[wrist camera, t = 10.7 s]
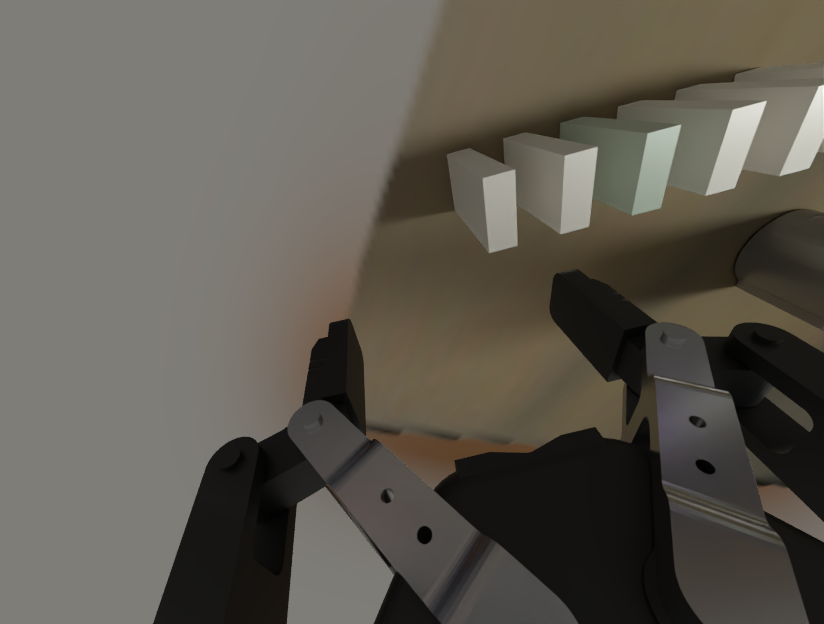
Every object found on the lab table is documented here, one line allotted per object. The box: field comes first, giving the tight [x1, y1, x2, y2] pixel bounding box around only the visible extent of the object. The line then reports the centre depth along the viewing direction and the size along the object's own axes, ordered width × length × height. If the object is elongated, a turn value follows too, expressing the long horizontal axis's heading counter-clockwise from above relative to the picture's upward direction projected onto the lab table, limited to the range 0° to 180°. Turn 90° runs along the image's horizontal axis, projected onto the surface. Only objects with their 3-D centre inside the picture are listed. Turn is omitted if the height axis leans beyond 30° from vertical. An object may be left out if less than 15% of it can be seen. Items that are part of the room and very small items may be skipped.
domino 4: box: [616, 100, 767, 196], centre depth 23 cm, size 2×5×10 cm, turn 13°
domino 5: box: [675, 78, 824, 176], centre depth 23 cm, size 2×5×10 cm, turn 13°
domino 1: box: [447, 148, 518, 253], centre depth 24 cm, size 2×5×10 cm, turn 13°
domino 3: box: [559, 117, 681, 216], centre depth 24 cm, size 2×5×10 cm, turn 13°
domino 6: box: [733, 62, 824, 152], centre depth 23 cm, size 2×5×10 cm, turn 13°
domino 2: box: [503, 132, 598, 234], centre depth 24 cm, size 2×5×10 cm, turn 13°
